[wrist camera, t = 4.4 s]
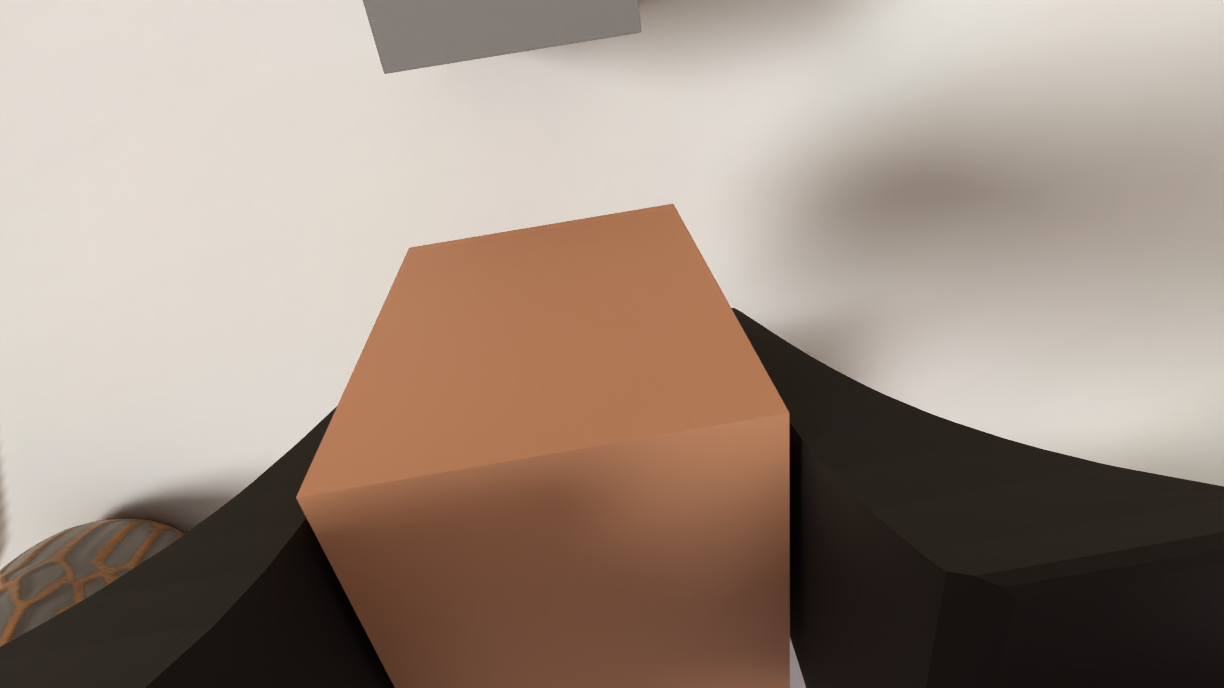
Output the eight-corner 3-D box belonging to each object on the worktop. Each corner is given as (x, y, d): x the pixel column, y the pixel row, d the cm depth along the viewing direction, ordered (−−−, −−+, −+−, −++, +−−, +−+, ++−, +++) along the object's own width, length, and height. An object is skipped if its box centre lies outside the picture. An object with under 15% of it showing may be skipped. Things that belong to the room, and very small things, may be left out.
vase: (209, 640, 27) (79, 910, 19) (16, 582, 24) (-224, 866, 17) (279, 533, 24) (161, 794, 17) (72, 456, 22) (-179, 721, 14)
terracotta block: (693, 415, 13) (789, 699, 8) (474, 453, 13) (433, 763, 8) (673, 203, 11) (790, 412, 6) (409, 248, 11) (296, 497, 6)
